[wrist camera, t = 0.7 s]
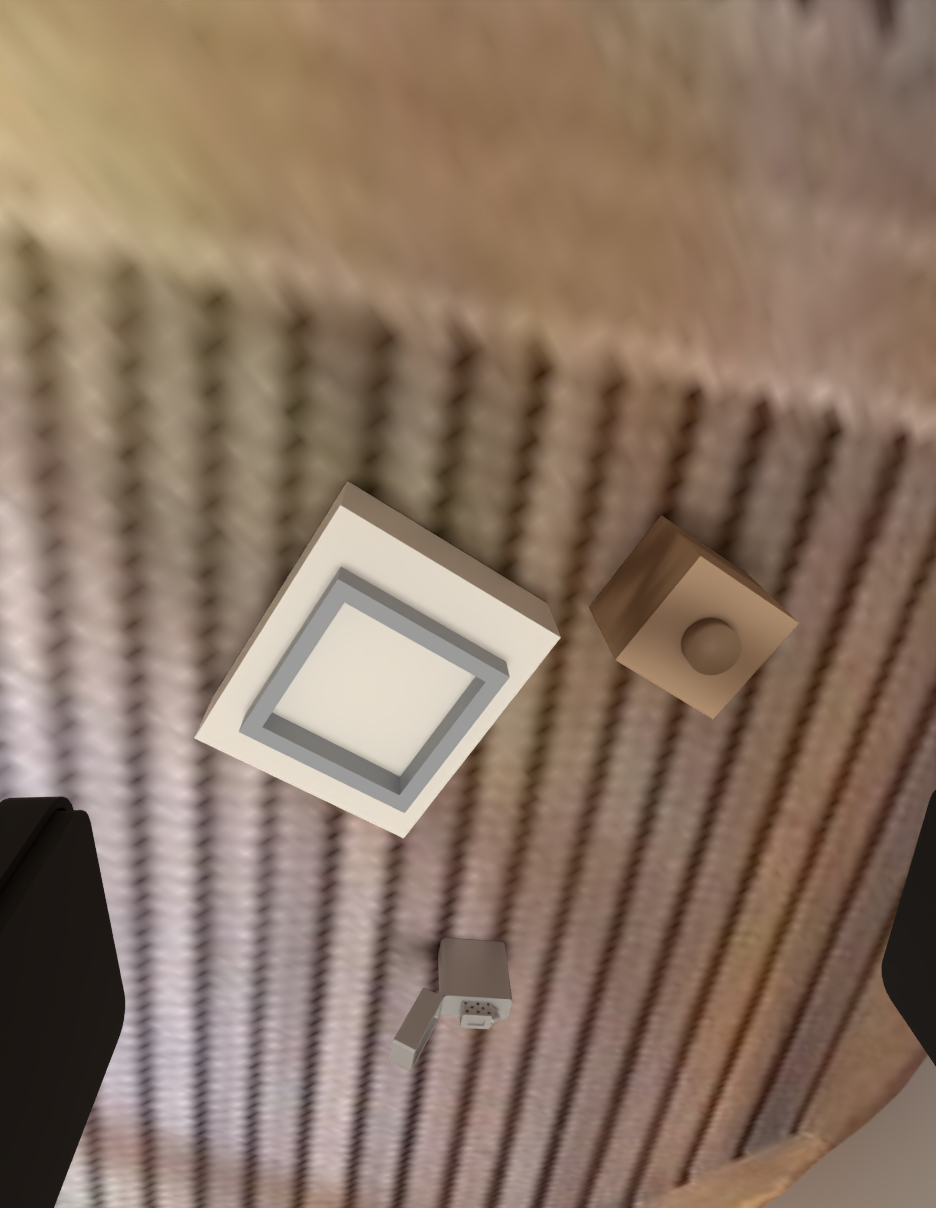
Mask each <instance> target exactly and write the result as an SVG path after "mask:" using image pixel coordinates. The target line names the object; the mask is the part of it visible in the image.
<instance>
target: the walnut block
mask: <svg viewBox="0 0 936 1208" xmlns="http://www.w3.org/2000/svg"><path fill="white" fill-rule="evenodd" d="M589 608H590V610H591V612H592V614H593V616H594V618H595V620H596V622H597V624H598V626H599V628H600V630H601V632H602V634H603V636H604V638H605V640H606V642H607V644H608V646H609V648H610V650H611V652H612V654H613V656H614V658H615V660H616V661H618V662H620V663H621V664H623V665H624V666H626V667H628V668H629V669H631V670H633V671H634V672H636V673H638V674H639V675H641V676H643V677H644V678H646V679H648V680H649V681H651V682H652V683H654V684H656V685H657V686H659V687H661V688H662V689H664V690H666V691H667V692H669V693H671V694H672V695H674V696H676V697H677V698H679V699H681V700H682V701H684V702H685V703H687V704H689V705H690V706H692V707H694V708H695V709H697V710H699V711H700V712H702V713H704V714H705V715H707V716H709V717H710V718H712V719H713V718H714V717H715V716H716V715H717V714H718V713H719V712H720V711H721V709H722V708H723V707H724V706H725V705H726V704H727V703H728V702H729V701H730V699H731V698H732V697H733V696H734V695H735V694H736V693H737V692H738V691H739V689H740V688H741V687H742V686H743V685H744V684H745V683H746V682H747V681H748V679H749V678H750V677H751V676H752V675H753V674H754V673H755V672H756V670H757V669H758V668H759V667H760V666H761V665H762V664H763V663H764V662H765V660H766V659H767V658H768V657H769V656H770V655H771V654H772V653H773V652H774V650H775V649H776V648H777V647H778V646H779V645H780V644H781V643H782V642H783V640H784V639H785V638H786V637H787V636H788V635H789V634H790V633H791V631H792V630H793V629H794V628H795V627H796V626H797V625H798V624H799V622H798V621H797V620H796V619H794V618H793V617H792V616H791V615H790V614H789V613H788V612H787V611H786V610H785V609H784V608H783V607H782V606H781V605H780V604H779V603H778V602H777V601H775V600H774V599H773V598H772V597H771V596H770V595H769V594H768V593H767V592H766V591H765V590H764V589H763V588H762V587H761V586H760V585H759V584H758V583H756V582H755V581H754V580H753V579H752V578H751V577H750V576H749V575H748V574H747V573H745V572H744V571H742V570H741V569H739V568H738V567H736V566H735V565H733V564H732V563H730V562H729V561H728V560H726V559H725V558H723V557H722V556H720V555H719V554H717V553H716V552H714V551H713V550H712V549H710V548H709V547H707V546H706V545H704V544H703V543H701V542H700V541H698V540H697V539H695V538H694V537H693V536H691V535H690V534H688V533H687V532H685V531H684V530H682V529H681V528H679V527H678V526H677V525H675V524H674V523H672V522H671V521H669V520H668V519H666V518H665V517H663V516H662V515H661V516H660V517H659V518H658V520H657V521H656V522H655V523H654V525H653V526H652V527H651V529H650V530H649V531H648V532H647V534H646V535H645V536H644V537H643V539H642V540H641V541H640V543H639V544H638V545H637V546H636V548H635V549H634V550H633V551H632V553H631V554H630V555H629V557H628V558H627V559H626V560H625V562H624V563H623V564H622V566H621V567H620V568H619V569H618V571H617V572H616V573H615V574H614V576H613V577H612V578H611V580H610V581H609V582H608V583H607V585H606V586H605V587H604V588H603V590H602V591H601V592H600V594H599V595H598V596H597V597H596V599H595V600H594V601H593V603H592V604H591V605H590V606H589Z"/></svg>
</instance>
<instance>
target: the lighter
mask: <svg viewBox="0 0 936 1208" xmlns="http://www.w3.org/2000/svg"><path fill="white" fill-rule="evenodd" d="M438 965H439V993H440V995H438V994H436V993H434V992H432V991H430V990H427V989H425V988H423V989H422V991H421V993H420V994H419V996H418V998H417V1000H416V1001H415V1003H414V1005H413V1007H412V1008H411V1010H410V1012H409V1014H408V1015H407V1017H406V1019H405V1021H404V1022H403V1024H402V1026H401V1028H400V1029H399V1031H398V1033H397V1035H396V1036H395V1038H394V1040H393V1043H392V1047H391V1053H390V1059H389V1061H390V1062H392V1063H394V1064H396V1065H398V1066H400V1067H402V1068H404V1069H406V1070H408V1071H410V1072H411V1071H412V1069H413V1067H414V1065H415V1063H416V1061H417V1059H418V1057H419V1056H420V1054H421V1052H422V1050H423V1048H424V1046H425V1044H426V1042H427V1040H428V1038H429V1036H430V1034H431V1033H432V1031H433V1029H434V1027H435V1025H436V1023H437V1021H438V1019H439V1017H440V1014H441V1015H442V1016H450V1017H460V1027H461V1028H477V1029H489V1028H490V1027H491V1025H493V1024H494V1023H496V1022H497V1021H499V1019H501V1020H505V1019H507V1018H508V1016H509V1012H510V1009H511V1005H512V995H511V988H510V980H509V973H508V965H507V958H506V950H505V944H504V943H503V942H498V941H484V940H470V939H456V938H443V939H441V944H440V949H439V954H438Z"/></svg>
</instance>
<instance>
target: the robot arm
mask: <svg viewBox="0 0 936 1208" xmlns="http://www.w3.org/2000/svg"><path fill="white" fill-rule="evenodd" d="M882 978H883V983H884V986H885V989H886V991H887V994H888V995H889V997H890V999H891V1001H892V1002H893V1004H894V1005H895V1007H896V1008H897V1010H898V1011H899V1013H900V1014H901V1016H902V1017H903V1018H904V1020H905V1021H906V1023H907V1024H908V1026H909V1027H910V1029H911V1030H912V1032H913V1033H914V1035H915V1036H916V1038H917V1039H918V1041H919V1042H920V1044H921V1045H922V1047H923V1048H924V1050H925V1051H926V1052H927V1054H928V1055H929V1057H930V1058H931V1060H932V1061H933V1063H934V1064H935V1066H936V790H935V791H934V792H933V794H932V796H931V798H930V801H929V804H928V807H927V811H926V814H925V818H924V821H923V824H922V828H921V831H920V835H919V838H918V842H917V845H916V848H915V852H914V855H913V859H912V862H911V865H910V869H909V872H908V876H907V879H906V882H905V886H904V889H903V893H902V896H901V900H900V903H899V906H898V910H897V913H896V917H895V920H894V923H893V927H892V930H891V934H890V937H889V940H888V944H887V947H886V951H885V954H884V958H883V961H882ZM124 1014H125V995H124V989H123V984H122V979H121V974H120V969H119V964H118V959H117V954H116V949H115V944H114V939H113V934H112V928H111V923H110V918H109V913H108V908H107V903H106V898H105V893H104V888H103V883H102V878H101V873H100V868H99V863H98V857H97V852H96V847H95V842H94V837H93V832H92V827H91V822H90V819H89V816H88V814H87V813H86V812H85V811H83V810H73V807H72V804H71V803H70V801H69V800H68V799H67V798H65V797H28V798H8V799H5V800H3V801H2V802H0V1208H54V1206H55V1203H56V1201H57V1198H58V1196H59V1193H60V1190H61V1188H62V1185H63V1182H64V1180H65V1177H66V1175H67V1172H68V1169H69V1167H70V1164H71V1162H72V1159H73V1156H74V1154H75V1151H76V1149H77V1146H78V1143H79V1141H80V1138H81V1136H82V1133H83V1130H84V1128H85V1125H86V1122H87V1120H88V1117H89V1115H90V1112H91V1109H92V1107H93V1104H94V1102H95V1099H96V1096H97V1094H98V1091H99V1089H100V1086H101V1083H102V1081H103V1078H104V1075H105V1073H106V1070H107V1068H108V1065H109V1062H110V1060H111V1057H112V1055H113V1052H114V1049H115V1047H116V1044H117V1042H118V1039H119V1036H120V1033H121V1030H122V1026H123V1021H124Z"/></svg>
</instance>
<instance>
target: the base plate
mask: <svg viewBox="0 0 936 1208" xmlns="http://www.w3.org/2000/svg"><path fill="white" fill-rule="evenodd" d="M560 638H561V637H560V635H559V632H558V629H557V627H556V624H555V622H554V619H553V617H552V614H551V611H550V609H549V606H548V604H547V603H546V602H544V601H543V600H541V599H539V598H538V597H536V596H534V595H533V594H531V593H529V592H528V591H526V590H525V589H523V588H521V587H520V586H518V585H516V584H515V583H513V582H511V581H510V580H508V579H507V578H505V577H503V576H502V575H500V574H498V573H497V572H495V571H494V570H492V569H490V568H489V567H487V566H485V565H484V564H482V563H480V562H479V561H477V560H476V559H474V558H472V557H471V556H469V555H467V554H466V553H464V552H463V551H461V550H459V549H458V548H456V547H454V546H453V545H451V544H449V543H448V542H446V541H445V540H443V539H441V538H440V537H438V536H436V535H435V534H433V533H432V532H430V531H428V530H427V529H425V528H423V527H422V526H420V525H418V524H417V523H415V522H414V521H412V520H410V519H409V518H407V517H405V516H404V515H402V514H401V513H399V512H397V511H396V510H394V509H392V508H391V507H389V506H387V505H386V504H384V503H383V502H381V501H379V500H378V499H376V498H374V497H373V496H371V495H370V494H368V493H366V492H365V491H363V490H361V489H360V488H358V487H356V486H355V485H353V484H352V483H350V482H348V481H347V482H346V484H345V486H344V487H343V489H342V490H341V492H340V494H339V495H338V497H337V498H336V500H335V502H334V503H333V505H332V506H331V508H330V510H329V511H328V513H327V515H326V516H325V518H324V519H323V521H322V523H321V524H320V526H319V527H318V529H317V531H316V532H315V534H314V535H313V537H312V539H311V540H310V542H309V543H308V545H307V547H306V548H305V550H304V551H303V553H302V555H301V556H300V558H299V559H298V561H297V563H296V564H295V566H294V567H293V569H292V571H291V572H290V574H289V575H288V577H287V579H286V580H285V582H284V584H283V585H282V587H281V588H280V590H279V592H278V593H277V595H276V596H275V598H274V600H273V601H272V603H271V604H270V606H269V608H268V609H267V611H266V612H265V614H264V616H263V617H262V619H261V620H260V622H259V624H258V625H257V627H256V628H255V630H254V632H253V633H252V635H251V636H250V638H249V640H248V641H247V643H246V645H245V646H244V648H243V649H242V651H241V653H240V654H239V656H238V657H237V659H236V661H235V662H234V664H233V665H232V667H231V669H230V670H229V672H228V673H227V675H226V677H225V678H224V680H223V681H222V683H221V685H220V686H219V688H218V689H217V691H216V693H215V694H214V696H213V698H212V700H211V702H210V705H209V707H208V709H207V711H206V713H205V716H204V718H203V720H202V722H201V724H200V726H199V729H198V731H197V733H196V735H195V737H194V738H195V739H197V740H199V741H201V742H204V743H206V744H208V745H210V746H212V747H214V748H216V749H218V750H220V751H222V752H224V753H227V754H229V755H231V756H233V757H235V758H237V759H239V760H241V761H243V762H245V763H247V764H249V765H252V766H254V767H256V768H258V769H260V770H262V771H264V772H266V773H268V774H270V775H272V776H275V777H277V778H279V779H281V780H283V781H285V782H287V783H289V784H291V785H293V786H295V787H297V788H300V789H302V790H304V791H306V792H308V793H310V794H312V795H314V796H316V797H318V798H320V799H323V800H325V801H327V802H329V803H331V804H333V805H335V806H337V807H339V808H341V809H343V810H346V811H348V812H350V813H352V814H354V815H356V816H358V817H360V818H362V819H364V820H366V821H368V822H371V823H373V824H375V825H377V826H379V827H381V828H383V829H385V830H387V831H389V832H391V833H394V834H396V835H398V836H400V837H402V838H404V837H405V836H406V835H407V833H408V832H409V831H410V829H411V828H412V827H413V826H414V824H415V823H416V822H417V821H418V819H419V818H420V817H421V815H422V814H423V813H424V812H425V810H426V809H427V808H428V806H429V805H430V804H431V803H432V801H433V800H434V799H435V798H436V796H437V795H438V794H439V792H440V791H441V790H442V789H443V787H444V786H445V785H446V783H447V782H448V781H449V780H450V778H451V777H452V776H453V775H454V773H455V772H456V771H457V769H458V768H459V767H460V766H461V764H462V763H463V762H464V760H465V759H466V758H467V757H468V755H469V754H470V753H471V751H472V750H473V749H474V748H475V746H476V745H477V744H478V743H479V741H480V740H481V739H482V737H483V736H484V735H485V734H486V732H487V731H488V730H489V728H490V727H491V726H492V725H493V723H494V722H495V721H496V720H497V718H498V717H499V716H500V714H501V713H502V712H503V711H504V709H505V708H506V707H507V705H508V704H509V703H510V702H511V700H512V699H513V698H514V696H515V695H516V694H517V693H518V691H519V690H520V689H521V688H522V686H523V685H524V684H525V682H526V681H527V680H528V679H529V677H530V676H531V675H532V673H533V672H534V671H535V670H536V668H537V667H538V666H539V665H540V663H541V662H542V661H543V659H544V658H545V657H546V656H547V654H548V653H549V652H550V650H551V649H552V648H553V647H554V645H555V644H556V643H557V641H558V640H559V639H560Z"/></svg>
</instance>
